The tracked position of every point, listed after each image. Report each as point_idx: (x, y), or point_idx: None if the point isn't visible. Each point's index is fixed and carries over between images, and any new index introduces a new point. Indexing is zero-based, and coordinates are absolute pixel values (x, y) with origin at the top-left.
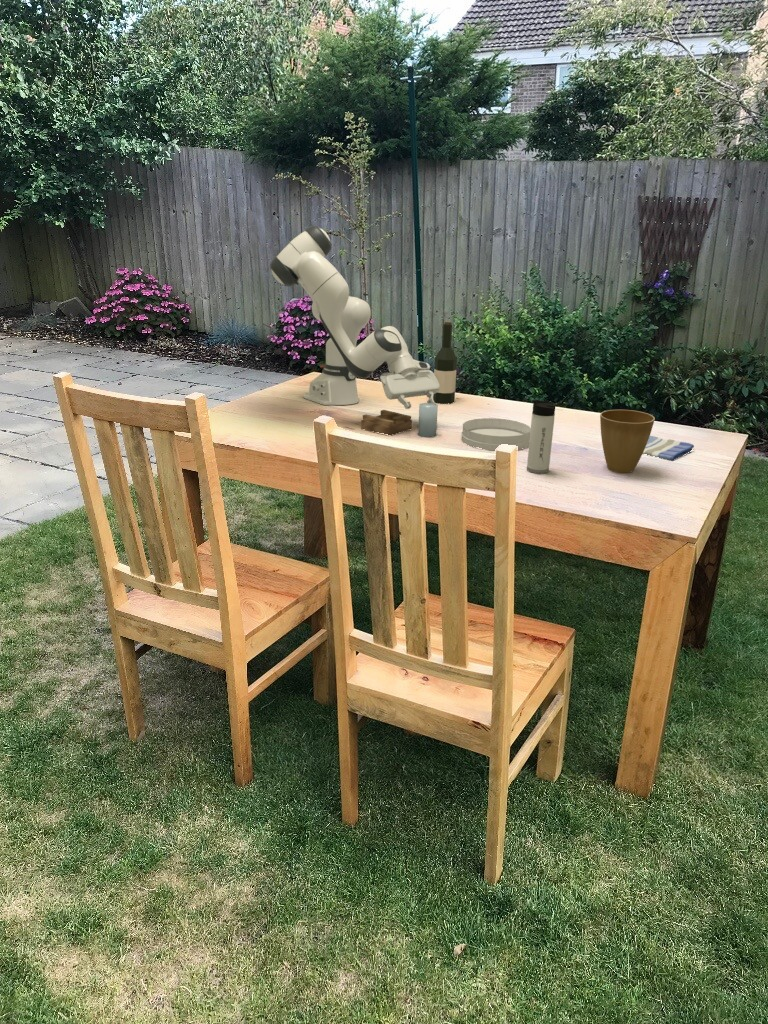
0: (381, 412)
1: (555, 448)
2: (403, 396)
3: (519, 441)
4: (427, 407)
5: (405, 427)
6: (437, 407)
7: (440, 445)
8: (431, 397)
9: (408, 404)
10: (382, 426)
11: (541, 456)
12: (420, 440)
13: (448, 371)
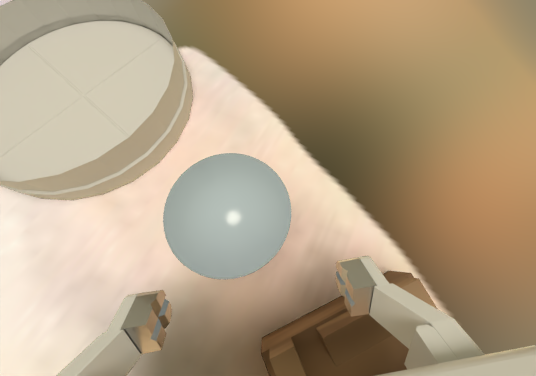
0: None
1: None
2: (432, 333)
3: (82, 8)
4: (263, 164)
5: (303, 321)
6: (189, 173)
7: (266, 119)
8: (109, 340)
9: (363, 265)
10: None
11: None
12: (300, 182)
13: None
